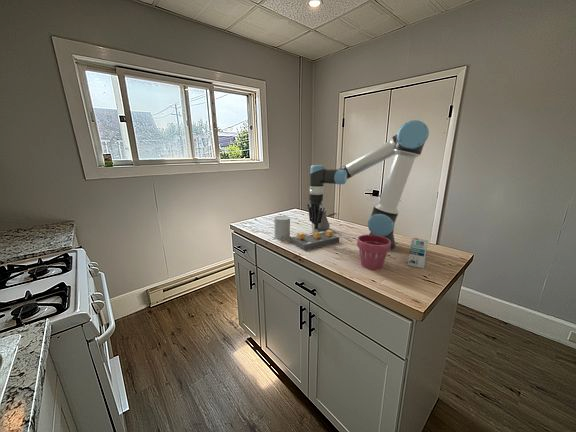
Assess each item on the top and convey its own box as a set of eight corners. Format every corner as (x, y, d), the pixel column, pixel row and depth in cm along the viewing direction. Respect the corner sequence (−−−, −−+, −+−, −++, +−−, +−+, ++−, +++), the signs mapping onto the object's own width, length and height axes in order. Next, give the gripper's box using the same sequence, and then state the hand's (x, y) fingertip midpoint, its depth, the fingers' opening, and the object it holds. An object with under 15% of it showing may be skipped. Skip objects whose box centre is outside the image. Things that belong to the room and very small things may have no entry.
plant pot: (348, 262, 111) (350, 237, 108) (369, 256, 118) (372, 232, 115) (372, 275, 99) (376, 247, 96) (394, 268, 106) (398, 241, 103)
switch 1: (304, 238, 133) (304, 233, 132) (300, 239, 132) (300, 234, 131) (301, 236, 136) (301, 232, 135) (297, 237, 134) (297, 232, 133)
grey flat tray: (339, 242, 138) (339, 236, 137) (304, 250, 125) (304, 244, 124) (323, 235, 149) (323, 230, 148) (290, 242, 137) (290, 237, 136)
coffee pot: (309, 228, 163) (310, 207, 159) (323, 226, 168) (324, 205, 164) (327, 238, 144) (328, 214, 141) (342, 235, 149) (344, 212, 146)
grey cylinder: (271, 238, 142) (271, 218, 139) (278, 233, 151) (278, 215, 148) (286, 240, 139) (286, 220, 136) (292, 235, 148) (292, 216, 145)
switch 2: (320, 237, 134) (320, 233, 134) (316, 238, 133) (316, 233, 132) (317, 236, 137) (317, 231, 136) (313, 237, 135) (313, 232, 135)
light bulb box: (423, 269, 106) (427, 246, 103) (407, 265, 109) (410, 243, 107) (425, 260, 115) (428, 239, 112) (409, 257, 118) (412, 237, 115)
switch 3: (332, 235, 138) (333, 231, 137) (328, 236, 137) (329, 231, 136) (329, 234, 141) (329, 229, 140) (325, 235, 139) (325, 230, 138)
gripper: (303, 192, 134) (302, 232, 140) (318, 195, 123) (316, 238, 129) (314, 191, 138) (312, 230, 144) (329, 194, 127) (327, 236, 133)
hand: (314, 234), depth 136 cm, fingers closed
